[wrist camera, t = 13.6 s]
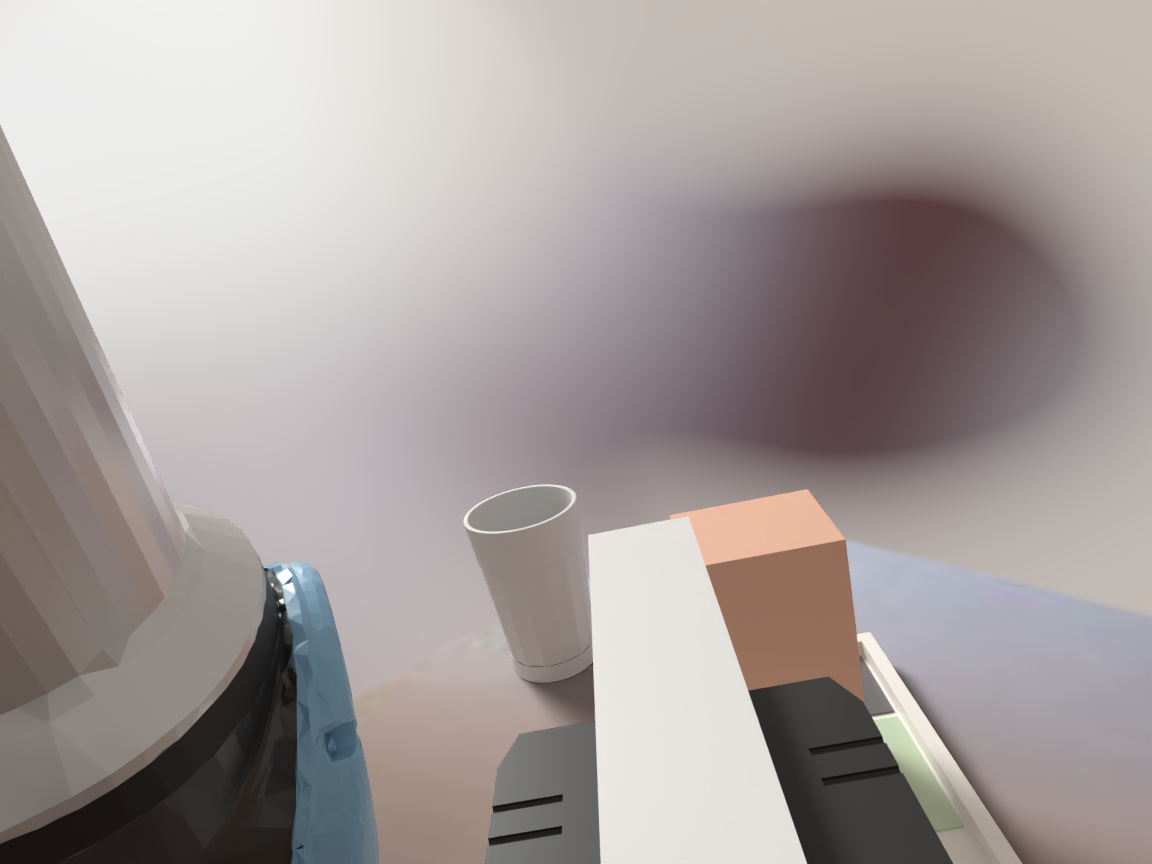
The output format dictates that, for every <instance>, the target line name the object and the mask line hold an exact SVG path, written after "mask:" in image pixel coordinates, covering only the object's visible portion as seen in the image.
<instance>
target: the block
mask: <svg viewBox="0 0 1152 864" xmlns="http://www.w3.org/2000/svg"><path fill="white" fill-rule="evenodd" d="M687 516H689V519H690V522H691V525H692V528H693V531H694V534H695V537H696V540H697V542H698V545H699V548H700V551H701V554H702V557H703V560H704V563H705V566H706V569H707V572H708V575H709V578H710V581H711V583H712V586H713V589H714V592H715V595H716V598H717V601H718V604H719V607H720V610H721V613H722V616H723V619H724V622H725V624H726V627H727V630H728V633H729V636H730V639H731V642H732V645H733V648H734V651H735V654H736V657H737V660H738V663H739V666H740V668H741V671H742V674H743V677H744V680H745V683H746V686H747V689H748V690H754V689H760V688H766V687H771V686H777V685H783V684H788V683H794V682H800V681H805V680H811V679H817V678H822V677H828V676H829V677H830V678H832V679H833V680H834V681H836V682H837V683H838V684H840V685H841V686H843V687H844V688H845V689H847V690H848V691H849V692H851V693H852V694H853V695H855V696H856V697H858V698H859V699H860V700H862V701H863V702H864V704H865V700H864V692H863V683H862V675H861V666H860V658H859V650H858V641H857V633H856V624H855V616H854V607H853V599H852V591H851V582H850V574H849V565H848V557H847V549H846V540H845V538H844V537H843V536H842V534H841V533H840V532H839V530H838V529H837V528H836V526H835V525H834V524H833V522H832V521H831V520H830V519H829V517H828V516H827V515H826V513H825V512H824V511H823V509H822V508H821V507H820V505H819V504H818V503H817V501H816V500H815V499H814V497H813V496H812V495H811V493H810V492H809V491H808V490H801V491H796V492H791V493H785V494H780V495H775V496H770V497H764V498H759V499H754V500H749V501H743V502H738V503H733V504H727V505H722V506H717V507H712V508H706V509H701V510H696V511H691V512H685V513H680V514H675V515H670V520H671V519H676V518H682V517H687Z"/></svg>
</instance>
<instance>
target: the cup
mask: <svg viewBox="0 0 1152 864" xmlns="http://www.w3.org/2000/svg"><path fill="white" fill-rule="evenodd" d="M579 522H580V521H579V513H578V505H577V497H576V494H575V492H574V491H573V490H571V489H570V488H567V487H564V486H559V485H534V486H527V487H522V488H518V489H513V490H509V491H507V492H503V493H500V494H497V495H495V496H493V497H490V498H488V499H486V500H484V501H482V502H481V503H479V504H477V505H476V506H474V508H472V509H471V510H470V511H469V512H468V513H467V514H466V516H465V518H464V526H465V529H466V531H467V534H468V537H469V539H470V542H471V545H472V547H473V550H474V553H475V556H476V558H477V561H478V564H479V566H480V567H481V570H482V573H483V576H484V579H485V581H486V584H487V587H488V590H489V593H490V595H491V598H492V601H493V604H494V607H495V610H496V613H497V615H498V618H499V621H500V624H501V627H502V630H503V633H504V635H505V638H506V641H507V644H508V647H509V650H510V654H511V658H512V662H513V666H514V669H515V672H516V673H517V675H518V676H520V677H521V678H523V679H525V680H527V681H531V682H538V683H547V682H555V681H560V680H564V679H567V678H570V677H572V676H574V675H576V674H578V673H580V672H582V671H583V670H585V669H586V668H587V667H588V666H590V665H591V664H592V663H593V647H592V620H591V602H590V595H589V588H588V581H587V574H586V566H585V559H584V553H583V545H582V537H581V529H580V523H579Z"/></svg>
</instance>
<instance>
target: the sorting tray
mask: <svg viewBox="0 0 1152 864" xmlns="http://www.w3.org/2000/svg"><path fill="white" fill-rule="evenodd" d="M857 641H858V650H859V658H860V666H861V675H862V683H863V692H864V700H865V706H866V708H867V709H868V711H869V713H870V715H871V716H872V718H873V720H874V722H875V724H876V725H877V727H878V729H879V731H880V733H881V734H882V737H883V741H884V743H887V745H888V747H889V749H890V751H891V752H892V754H893V756H894V758H895V760H896V761H897V763H898V765H899V769H900V772H901V773H903V774H904V776H905V778H906V779H907V781H908V783H909V785H910V787H911V788H912V790H913V792H914V794H915V796H916V797H917V799H918V801H919V803H920V805H921V806H922V808H923V810H924V812H925V814H926V815H927V817H928V819H929V821H930V823H931V824H932V826H933V828H934V830H935V832H936V833H937V835H938V837H939V839H940V841H941V842H942V844H943V846H944V848H945V850H946V851H947V853H948V855H949V857H950V859H951V860H952V862H953V864H1022V862H1021V861H1020V859H1019V858H1018V856H1017V855H1016V853H1015V852H1014V850H1013V849H1012V847H1011V846H1010V844H1009V843H1008V841H1007V840H1006V838H1005V836H1004V835H1003V833H1002V832H1001V830H1000V829H999V827H998V826H997V824H996V823H995V821H994V820H993V818H992V817H991V815H990V814H989V812H988V811H987V809H986V808H985V806H984V805H983V803H982V802H981V800H980V798H979V797H978V795H977V794H976V792H975V791H974V789H973V788H972V786H971V785H970V783H969V782H968V780H967V779H966V777H965V776H964V774H963V773H962V771H961V770H960V768H959V767H958V765H957V763H956V762H955V760H954V759H953V757H952V756H951V754H950V753H949V751H948V750H947V748H946V747H945V745H944V744H943V742H942V741H941V739H940V738H939V736H938V735H937V733H936V732H935V730H934V729H933V727H932V725H931V724H930V722H929V721H928V719H927V718H926V716H925V715H924V713H923V712H922V710H921V709H920V707H919V706H918V704H917V703H916V701H915V700H914V698H913V697H912V695H911V694H910V692H909V691H908V689H907V687H906V686H905V684H904V683H903V681H902V680H901V678H900V677H899V675H898V674H897V672H896V671H895V669H894V668H893V666H892V665H891V663H890V662H889V660H888V659H887V657H886V656H885V654H884V653H883V651H882V649H881V648H880V646H879V645H878V643H877V642H876V640H875V639H874V637H873V636H872V634H871V633H870V632H867V633H862V634H857Z"/></svg>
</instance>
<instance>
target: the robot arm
mask: <svg viewBox="0 0 1152 864" xmlns="http://www.w3.org/2000/svg"><path fill="white" fill-rule="evenodd" d="M588 540H589V567H590V594H591V620H592V647H593V673H594V699H595V721H591V722H585V723H579V724H574V725H568V726H562V727H557V728H551V729H545V730H540V731H534V732H528V733H523V734H519V736H518V737H517V739H516V740H515V742H514V743H513V745H512V746H511V748H510V750H509V751H508V753H507V754H506V756H505V757H504V759H503V761H502V762H501V764H500V765H499V767H498V768H497V776H496V783H495V791H494V798H493V814H491V821H490V829H489V836H488V840H489V846H488V847H487V851H486V859H485V864H953V862H952V860H951V859H950V857H949V855H948V853H947V851H946V850H945V848H944V846H943V844H942V842H941V841H940V839H939V837H938V835H937V833H936V832H935V830H934V828H933V826H932V824H931V823H930V821H929V819H928V817H927V815H926V814H925V812H924V810H923V808H922V806H921V805H920V803H919V801H918V799H917V797H916V796H915V794H914V792H913V790H912V788H911V787H910V785H909V783H908V781H907V779H906V778H905V776H904V774H903V773H901V772H900V769H899V765H898V763H897V761H896V760H895V758H894V756H893V754H892V752H891V751H890V749H889V747H888V745H887V743H884V741H883V737H882V734H881V733H880V731H879V729H878V727H877V725H876V724H875V722H874V720H873V718H872V716H871V715H870V713H869V711H868V709H867V708H866V706H865V704H864V702H863V701H862V700H860V699H859V698H858V697H856V696H855V695H853V694H852V693H851V692H849V691H848V690H847V689H845V688H844V687H843V686H841V685H840V684H838V683H837V682H836V681H834V680H833V679H832V678H830V677H829V676H828V677H822V678H817V679H811V680H805V681H800V682H794V683H788V684H783V685H777V686H771V687H766V688H760V689H754V690H748V689H747V686H746V683H745V680H744V677H743V674H742V671H741V668H740V666H739V663H738V660H737V657H736V654H735V651H734V648H733V645H732V642H731V639H730V636H729V633H728V630H727V627H726V624H725V622H724V619H723V616H722V613H721V610H720V607H719V604H718V601H717V598H716V595H715V592H714V589H713V586H712V583H711V581H710V578H709V575H708V572H707V569H706V566H705V563H704V560H703V557H702V554H701V551H700V548H699V545H698V542H697V540H696V537H695V534H694V531H693V528H692V525H691V522H690V519H689V516H687V517H682V518H676V519H671V520H666V521H660V522H655V523H650V524H645V525H639V526H634V527H629V528H624V529H618V530H613V531H608V532H603V533H598V534H592V535H588ZM356 727H357V721H356V717H355V713H354V708H353V702H352V693H351V689H350V684H349V679H348V675H347V670H346V666H345V662H344V658H343V653H342V649H341V645H340V640H339V636H338V633H337V629H336V625H335V621H334V617H333V613H332V610H331V606H330V603H329V599H328V596H327V593H326V590H325V586H324V584H323V582H322V579H321V577H320V574H319V572H318V571H317V570H316V569H315V568H314V567H312V566H311V565H309V564H307V563H301V562H300V563H291V564H283V563H278V562H274V563H272V564H271V565H269V566H264V567H263V566H262V563H261V560H260V558H259V556H258V554H257V553H256V551H255V549H254V548H253V546H252V545H251V543H250V541H249V540H248V538H247V537H246V536H245V534H244V533H243V532H242V530H241V529H239V528H238V527H237V526H235V525H234V524H233V523H231V522H230V521H229V520H227V519H225V518H223V517H221V516H219V515H217V514H215V513H213V512H210V511H207V510H204V509H201V508H198V507H194V506H189V505H184V504H177V503H172V502H171V500H170V498H169V496H168V494H167V491H166V489H165V487H164V485H163V482H162V480H161V478H160V476H159V474H158V471H157V469H156V467H155V465H154V463H153V460H152V458H151V456H150V454H149V452H148V450H147V447H146V445H145V443H144V441H143V438H142V436H141V434H140V432H139V430H138V427H137V425H136V423H135V421H134V419H133V417H132V414H131V412H130V410H129V408H128V405H127V403H126V401H125V399H124V397H123V394H122V392H121V390H120V388H119V386H118V383H117V381H116V379H115V377H114V375H113V373H112V370H111V368H110V366H109V364H108V361H107V359H106V357H105V355H104V353H103V350H102V348H101V346H100V344H99V342H98V339H97V337H96V335H95V333H94V331H93V328H92V326H91V324H90V322H89V320H88V317H87V315H86V313H85V311H84V309H83V307H82V304H81V302H80V300H79V298H78V295H77V293H76V291H75V289H74V287H73V284H72V282H71V280H70V278H69V276H68V274H67V271H66V269H65V267H64V265H63V262H62V260H61V258H60V256H59V254H58V251H57V249H56V247H55V245H54V243H53V240H52V238H51V236H50V234H49V232H48V229H47V227H46V225H45V223H44V221H43V218H42V216H41V214H40V212H39V210H38V207H37V205H36V203H35V201H34V199H33V196H32V194H31V192H30V190H29V188H28V185H27V183H26V181H25V179H24V177H23V175H22V172H21V170H20V168H19V166H18V163H17V161H16V159H15V157H14V155H13V152H12V150H11V148H10V146H9V143H8V141H7V139H6V137H5V135H4V133H3V130H2V128H1V126H0V864H379V844H378V835H377V828H376V820H375V813H374V807H373V801H372V795H371V789H370V783H369V778H368V773H367V768H366V763H365V758H364V753H363V749H362V745H361V742H360V738H359V736H358V735H357V733H356Z"/></svg>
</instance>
